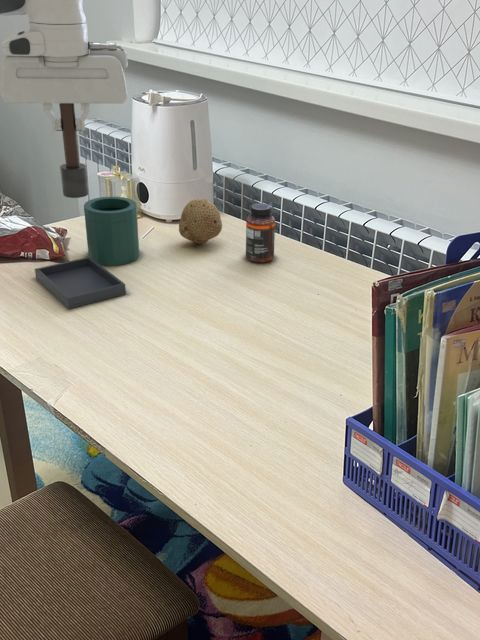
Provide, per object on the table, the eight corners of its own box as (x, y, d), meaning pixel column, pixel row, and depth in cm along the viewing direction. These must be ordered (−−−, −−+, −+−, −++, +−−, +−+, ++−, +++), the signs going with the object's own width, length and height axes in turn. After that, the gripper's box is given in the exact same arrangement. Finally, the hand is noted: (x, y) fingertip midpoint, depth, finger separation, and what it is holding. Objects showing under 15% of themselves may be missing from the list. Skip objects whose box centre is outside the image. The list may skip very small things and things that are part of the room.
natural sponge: (230, 243, 152) (231, 199, 147) (204, 255, 145) (204, 209, 140) (199, 233, 156) (199, 190, 151) (172, 244, 150) (171, 199, 145)
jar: (80, 252, 144) (75, 201, 139) (124, 243, 150) (121, 193, 144) (102, 269, 137) (97, 216, 132) (147, 258, 143) (145, 207, 137)
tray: (36, 278, 132) (34, 268, 131) (90, 266, 138) (89, 256, 137) (68, 309, 122) (67, 298, 121) (126, 294, 128) (125, 283, 127)
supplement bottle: (268, 251, 149) (270, 200, 143) (277, 262, 144) (280, 209, 138) (241, 254, 147) (243, 202, 141) (250, 265, 142) (251, 211, 136)
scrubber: (59, 192, 123) (48, 99, 115) (82, 188, 126) (73, 96, 118) (69, 199, 120) (59, 103, 112) (92, 195, 123) (84, 101, 115)
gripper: (126, 40, 115) (131, 125, 122) (-3, 38, 111) (9, 126, 118) (126, 45, 110) (131, 134, 117) (-10, 43, 106) (4, 135, 113)
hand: (69, 130), depth 117 cm, fingers closed on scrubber, 2 cm apart
